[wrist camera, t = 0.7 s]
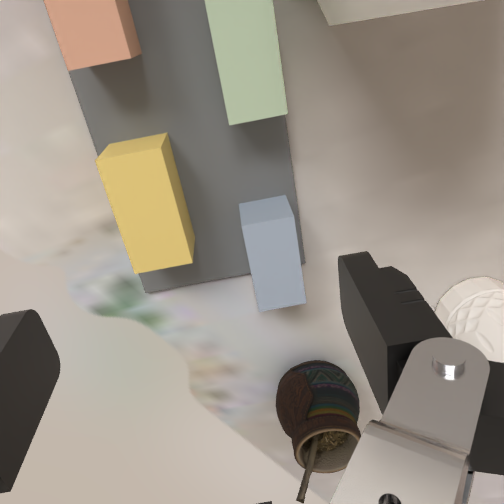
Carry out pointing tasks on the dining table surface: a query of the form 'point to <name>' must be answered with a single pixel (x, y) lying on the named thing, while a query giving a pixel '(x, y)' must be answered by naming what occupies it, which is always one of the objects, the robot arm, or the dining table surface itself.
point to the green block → (247, 58)
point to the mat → (190, 134)
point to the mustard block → (148, 202)
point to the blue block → (273, 252)
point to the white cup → (476, 315)
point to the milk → (377, 8)
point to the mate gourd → (319, 417)
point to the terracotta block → (93, 31)
